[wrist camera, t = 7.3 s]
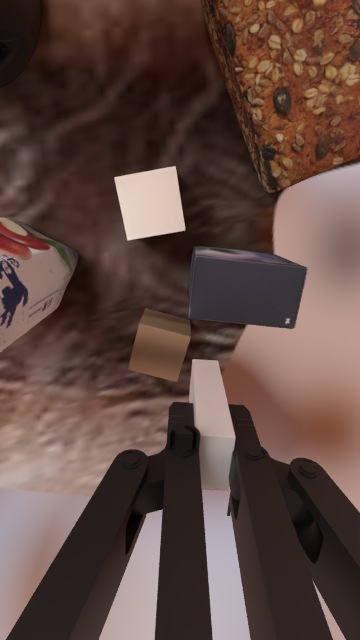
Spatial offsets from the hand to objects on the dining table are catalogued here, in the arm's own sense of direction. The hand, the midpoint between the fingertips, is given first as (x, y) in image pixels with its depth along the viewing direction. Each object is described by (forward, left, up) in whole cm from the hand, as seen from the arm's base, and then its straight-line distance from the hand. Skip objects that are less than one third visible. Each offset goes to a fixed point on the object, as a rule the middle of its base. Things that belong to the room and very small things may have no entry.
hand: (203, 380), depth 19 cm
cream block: (-10, -5, -23) cm, 25 cm away
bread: (-22, +6, -23) cm, 33 cm away
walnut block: (+6, -3, -23) cm, 24 cm away
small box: (-3, +5, -23) cm, 23 cm away
